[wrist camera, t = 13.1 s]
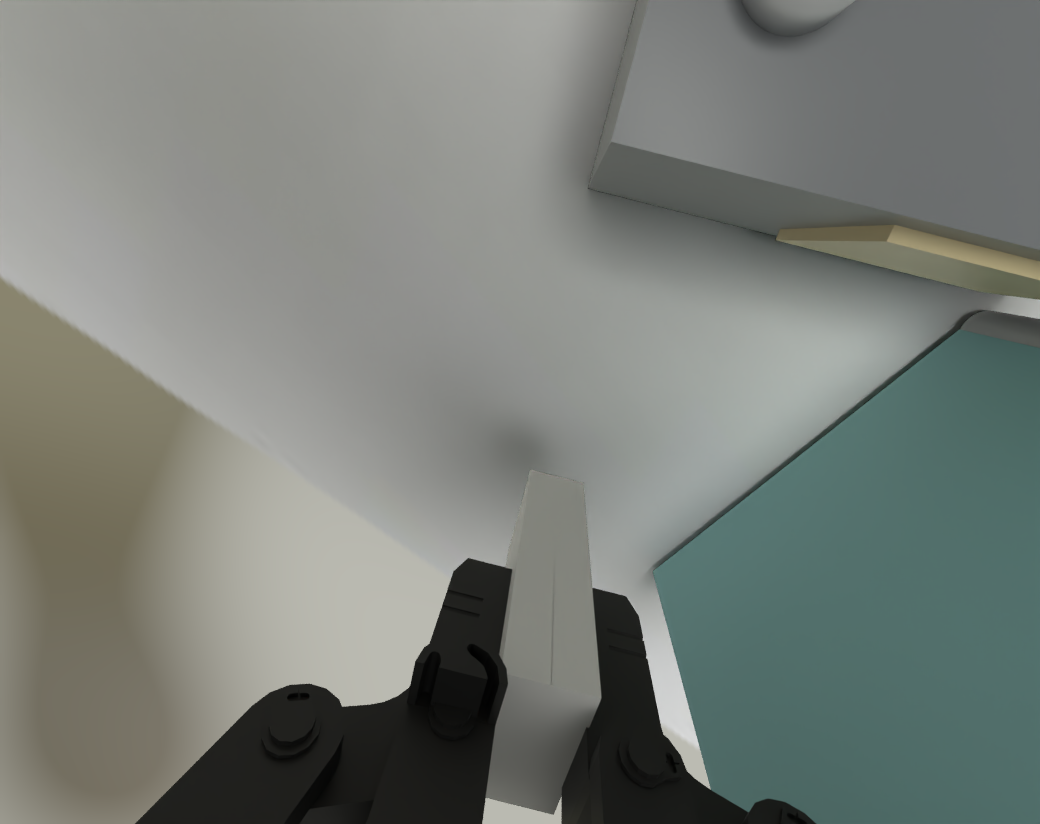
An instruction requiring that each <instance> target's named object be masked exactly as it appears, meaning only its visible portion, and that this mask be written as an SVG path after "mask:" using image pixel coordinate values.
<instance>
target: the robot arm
mask: <svg viewBox="0 0 1040 824" xmlns="http://www.w3.org/2000/svg"><path fill="white" fill-rule="evenodd" d="M642 639H643V635H642V630H641V625H640V620H639V616H638V614H637V613H636V611H635V610H634V608H633V607H632V605H631V604H630V602H629V600H628V599H627V597H626V596H622V595H618V594H614V593H610V592H606V591H603V590H599V589H595V588H592V579H591V567H590V555H589V543H588V531H587V519H586V507H585V495H584V484H583V483H582V482H578V481H574V480H570V479H566V478H562V477H558V476H554V475H550V474H546V473H542V472H538V471H534V470H530V473H529V476H528V480H527V484H526V487H525V491H524V495H523V498H522V502H521V506H520V509H519V513H518V517H517V520H516V524H515V528H514V531H513V535H512V539H511V542H510V546H509V550H508V555H507V561H506V566H505V567H501V566H497V565H493V564H489V563H485V562H481V561H477V560H473V559H470V558H468V559H467V560H466V561H464V562H463V563H462V564H461V565H460V566H459V567H458V568H457V569H456V570H455V571H454V572H453V575H452V578H451V581H450V584H449V587H448V590H447V593H446V596H445V599H444V602H443V605H442V609H441V611H440V614H439V618H438V620H437V623H436V626H435V629H434V632H433V635H432V639H431V641H430V644H429V645H427V646H426V647H424V649H423V650H422V652H421V653H420V655H419V657H418V659H417V660H416V661H415V666H414V671H413V676H412V681H411V685H410V687H409V688H408V689H407V690H406V691H404V692H403V693H402V694H400V695H399V696H397V697H395V698H392V699H390V700H388V701H385V702H382V703H377V704H371V705H360V706H348V707H342V706H341V703H340V701H339V699H338V698H337V697H335V696H334V695H333V694H332V693H331V692H330V691H328V690H327V689H325V688H322V687H319V686H315V685H312V684H299V685H289V686H286V687H283V688H281V689H278V690H275V691H273V692H270V693H269V694H268V695H266V696H265V697H263V698H262V699H261V700H259V701H258V702H257V703H255V704H254V705H253V706H251V708H250V709H249V710H248V711H247V712H246V713H245V714H244V715H243V716H242V717H241V718H240V719H239V720H238V721H237V722H236V723H235V724H234V725H233V726H232V727H231V728H230V729H229V730H228V731H227V732H226V733H225V734H224V735H223V736H222V737H221V738H220V739H219V740H218V741H217V742H216V743H215V744H214V745H213V746H212V747H211V748H210V749H209V750H208V751H207V752H206V753H205V754H204V755H203V756H202V757H201V758H200V759H199V760H198V761H197V762H196V763H195V764H194V765H193V766H192V767H191V768H190V769H189V770H188V771H187V772H186V773H185V774H184V775H183V776H182V777H181V778H180V779H179V780H178V781H177V782H176V783H175V784H174V785H173V786H172V787H171V788H170V789H169V790H168V791H167V792H166V793H165V794H164V795H163V796H162V797H161V798H160V799H159V800H158V801H157V802H156V803H155V804H154V805H153V806H152V807H151V808H150V809H149V810H148V811H147V813H145V814H144V815H143V817H141V818H140V819H139V820H138V821H137V822H136V823H135V824H482V820H483V813H484V805H485V798H490V799H494V800H497V801H501V802H506V803H509V804H513V805H517V806H521V807H525V808H529V809H533V810H537V811H541V812H545V813H549V814H554V812H555V810H556V807H557V805H558V802H559V800H560V798H561V795H562V824H816V823H815V822H814V821H813V820H812V819H811V818H810V817H808V816H807V815H806V814H805V813H804V812H802V811H800V810H798V809H797V808H795V807H793V806H792V805H790V804H788V803H786V802H783V801H779V800H774V799H769V798H767V799H764V800H761V801H758V802H755V803H754V805H753V806H752V808H751V810H750V811H749V812H747V811H746V810H744V809H742V808H741V807H739V806H737V805H735V804H734V803H732V802H730V801H729V800H727V799H725V798H724V797H722V796H720V795H719V794H717V793H715V792H714V791H712V790H710V789H708V788H707V787H706V786H704V785H703V784H701V783H700V782H698V781H697V780H696V779H694V778H693V777H692V776H691V775H690V774H689V773H688V772H687V770H686V768H685V765H684V763H683V761H682V758H681V755H680V754H679V753H678V751H677V750H676V749H675V747H674V746H673V745H672V743H671V742H670V741H669V739H668V738H667V737H665V736H664V735H663V732H662V729H661V724H660V720H659V715H658V710H657V705H656V700H655V695H654V690H653V685H652V680H651V675H650V670H649V665H648V660H647V659H646V650H645V645H644V641H642Z"/></svg>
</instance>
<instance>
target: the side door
mask: <svg viewBox="0 0 1040 824" xmlns="http://www.w3.org/2000/svg"><path fill="white" fill-rule="evenodd" d="M653 574H654V578H655V582H656V586H657V589H658V593H659V597H660V600H661V604H662V608H663V612H664V615H665V619H666V623H667V627H668V630H669V634H670V638H671V642H672V645H673V649H674V653H675V657H676V660H677V664H678V668H679V672H680V675H681V679H682V683H683V687H684V690H685V694H686V698H687V701H688V705H689V709H690V713H691V716H692V720H693V724H694V728H695V731H696V735H697V739H698V743H699V746H700V750H701V754H702V758H703V761H704V765H705V769H706V773H707V776H708V780H709V784H710V787H711V790H712V791H714V792H715V793H717V794H719V795H720V796H722V797H724V798H725V799H727V800H729V801H730V802H732V803H734V804H735V805H737V806H739V807H741V808H742V809H744V810H746V811H747V812H749V811H750V810H751V808H752V806H753V805H754V803H755V802H758V801H761V800H764V799H767V798H769V799H774V800H779V801H783V802H786V803H788V804H790V805H792V806H793V807H795V808H797V809H798V810H800V811H802V812H804V813H805V814H806V815H807V816H808V817H810V818H811V819H812V820H813V821H814V822H815V823H816V824H1040V319H1036V318H1030V317H1024V316H1018V315H1012V314H1007V313H1001V312H995V311H983V312H979V313H977V314H975V315H973V316H971V317H970V318H969V319H968V320H966V322H965V323H964V324H963V325H962V327H961V329H959V330H958V331H957V332H955V333H954V334H953V335H952V336H950V337H949V338H948V339H947V340H945V341H944V342H943V343H941V344H940V345H939V346H938V347H936V348H935V349H934V350H933V351H931V352H930V353H929V354H928V355H926V356H925V357H924V358H922V359H921V360H920V361H919V362H917V363H916V364H915V365H914V366H912V367H911V368H910V369H909V370H907V371H906V372H905V373H903V374H902V375H901V376H900V377H898V378H897V379H896V380H895V381H893V382H892V383H891V384H890V385H888V386H887V387H886V388H884V389H883V390H882V391H881V392H879V393H878V394H877V395H876V396H874V397H873V398H872V399H871V400H869V401H868V402H867V403H865V404H864V405H863V406H862V407H860V408H859V409H858V410H857V411H855V412H854V413H853V414H852V415H850V416H849V417H848V418H846V419H845V420H844V421H843V422H841V423H840V424H839V425H838V426H836V427H835V428H834V429H833V430H831V431H830V432H829V433H827V434H826V435H825V436H824V437H822V438H821V439H820V440H819V441H817V442H816V443H815V444H814V445H812V446H811V447H810V448H808V449H807V450H806V451H805V452H803V453H802V454H801V455H800V456H798V457H797V458H796V459H795V460H793V461H792V462H791V463H789V464H788V465H787V466H786V467H784V468H783V469H782V470H781V471H779V472H778V473H777V474H776V475H774V476H773V477H772V478H770V479H769V480H768V481H767V482H765V483H764V484H763V485H762V486H760V487H759V488H758V489H757V490H755V491H754V492H753V493H751V494H750V495H749V496H748V497H746V498H745V499H744V500H743V501H741V502H740V503H739V504H738V505H736V506H735V507H734V508H732V509H731V510H730V511H729V512H727V513H726V514H725V515H724V516H722V517H721V518H720V519H719V520H717V521H716V522H715V523H713V524H712V525H711V526H710V527H708V528H707V529H706V530H705V531H703V532H702V533H701V534H700V535H698V536H697V537H696V538H694V539H693V540H692V541H691V542H689V543H688V544H687V545H686V546H684V547H683V548H682V549H681V550H679V551H678V552H677V553H675V554H674V555H673V556H672V557H670V558H669V559H668V560H667V561H665V562H664V563H663V564H662V565H660V566H659V567H658V568H656V569H655V570H654V571H653Z"/></svg>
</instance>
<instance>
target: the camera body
mask: <svg viewBox="0 0 1040 824" xmlns="http://www.w3.org/2000/svg"><path fill="white" fill-rule="evenodd" d="M588 189H592V190H596V191H600V192H604V193H608V194H612V195H616V196H620V197H624V198H628V199H632V200H636V201H640V202H644V203H648V204H652V205H656V206H659V207H663V208H667V209H671V210H675V211H679V212H683V213H687V214H691V215H695V216H699V217H703V218H707V219H711V220H715V221H719V222H723V223H727V224H731V225H735V226H739V227H743V228H747V229H751V230H754V231H758V232H762V233H766V234H770V235H774V236H777V238H776V240H777V241H781V242H785V243H788V244H792V245H796V246H800V247H804V248H808V249H812V250H816V251H820V252H824V253H828V254H832V255H836V256H840V257H844V258H848V259H852V260H856V261H860V262H864V263H868V264H872V265H876V266H880V267H884V268H887V269H891V270H895V271H899V272H903V273H907V274H911V275H915V276H919V277H923V278H927V279H931V280H935V281H939V282H943V283H947V284H951V285H955V286H959V287H963V288H967V289H971V290H975V291H979V292H985V293H993V294H1001V295H1008V296H1016V297H1024V298H1031V299H1039V300H1040V0H637V2H636V6H635V9H634V13H633V17H632V21H631V25H630V29H629V32H628V36H627V40H626V44H625V48H624V52H623V56H622V59H621V63H620V67H619V71H618V75H617V79H616V82H615V86H614V90H613V94H612V98H611V102H610V105H609V109H608V113H607V117H606V121H605V125H604V128H603V132H602V136H601V140H600V144H599V148H598V152H597V155H596V159H595V163H594V167H593V171H592V175H591V178H590V182H589V186H588Z"/></svg>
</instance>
